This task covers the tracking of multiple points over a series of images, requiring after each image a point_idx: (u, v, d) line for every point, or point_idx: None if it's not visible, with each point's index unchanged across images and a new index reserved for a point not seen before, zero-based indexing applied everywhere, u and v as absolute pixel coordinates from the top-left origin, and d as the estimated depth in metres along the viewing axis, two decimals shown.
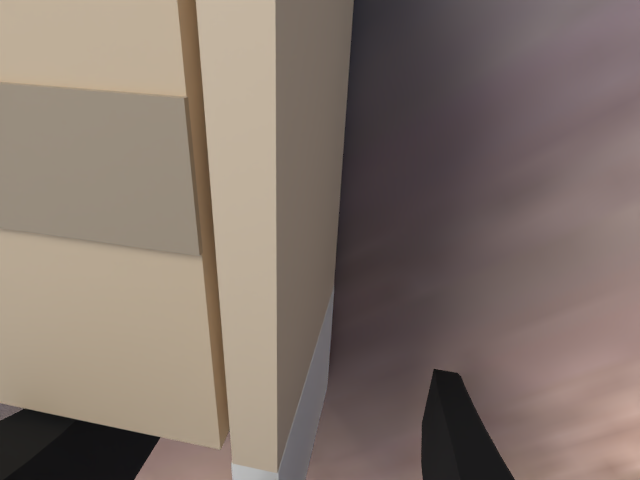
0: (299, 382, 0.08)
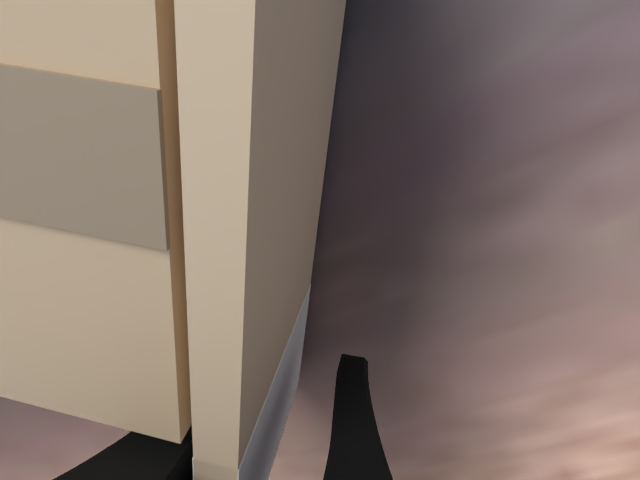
0: (267, 380, 0.08)
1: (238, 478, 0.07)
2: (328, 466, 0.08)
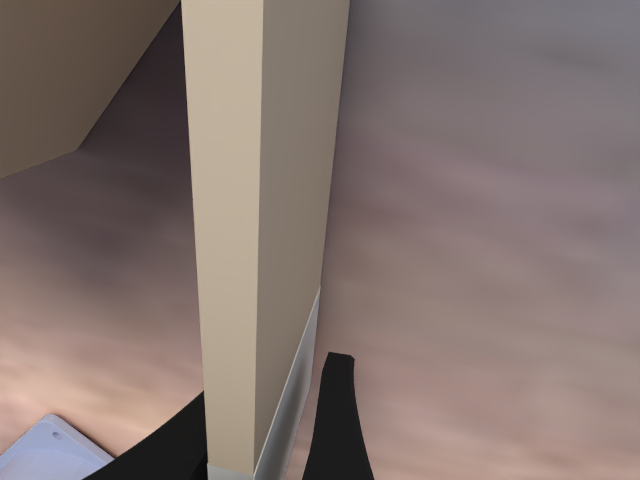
0: (280, 384, 0.08)
1: None
2: (309, 462, 0.08)
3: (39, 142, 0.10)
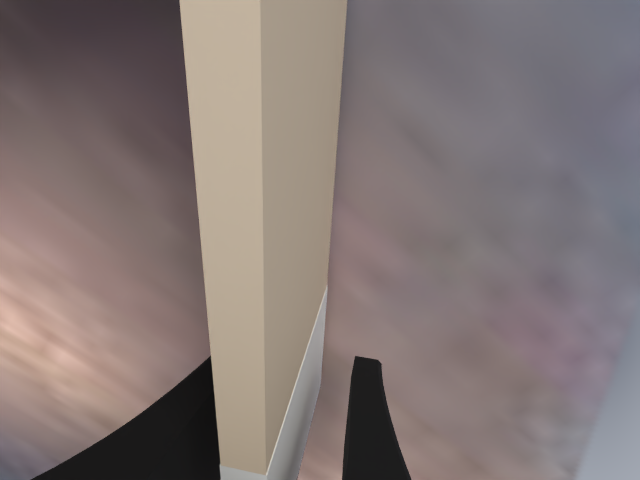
0: (289, 383, 0.08)
1: None
2: (347, 470, 0.08)
3: None
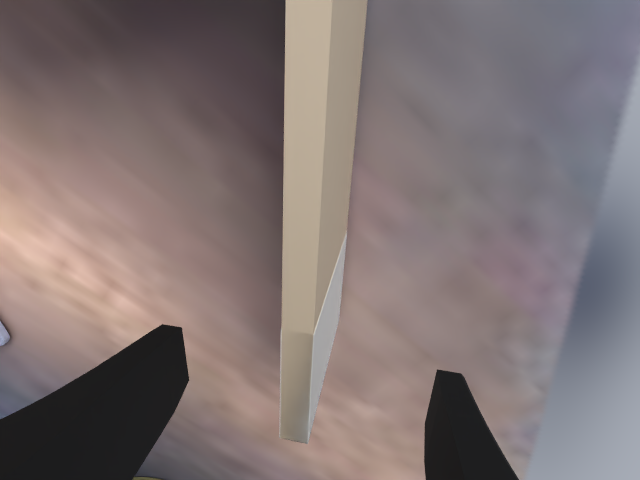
0: (326, 282, 0.11)
1: (313, 341, 0.10)
2: None
3: None
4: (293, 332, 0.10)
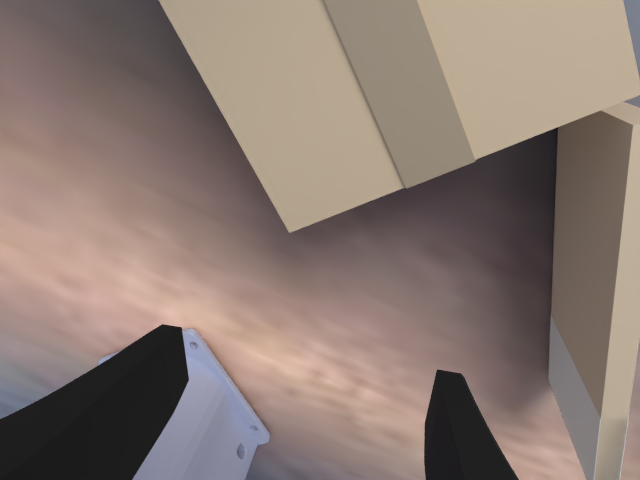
0: None
1: (627, 423, 0.14)
2: None
3: None
4: (611, 419, 0.14)
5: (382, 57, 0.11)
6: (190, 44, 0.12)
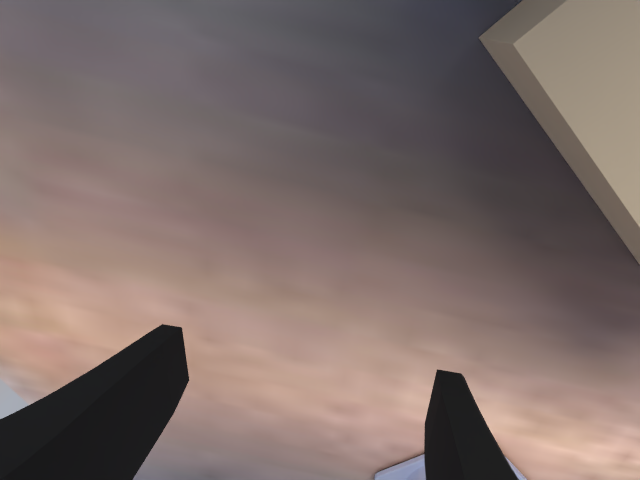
0: None
1: None
2: None
3: None
4: None
5: None
6: None
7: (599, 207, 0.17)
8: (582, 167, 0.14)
